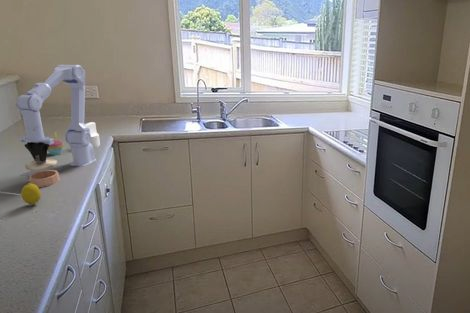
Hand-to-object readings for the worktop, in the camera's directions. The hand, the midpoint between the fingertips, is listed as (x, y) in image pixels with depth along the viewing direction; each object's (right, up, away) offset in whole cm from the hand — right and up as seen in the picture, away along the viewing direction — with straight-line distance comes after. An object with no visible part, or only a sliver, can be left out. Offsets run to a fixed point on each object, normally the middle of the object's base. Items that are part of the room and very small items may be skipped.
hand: (40, 160), depth 132 cm
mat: (-6, -5, +12) cm, 15 cm away
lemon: (+7, -15, -17) cm, 24 cm away
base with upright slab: (-2, +7, +50) cm, 51 cm away
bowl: (+1, -9, +2) cm, 9 cm away
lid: (0, -2, +1) cm, 2 cm away
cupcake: (-14, +3, +37) cm, 39 cm away
